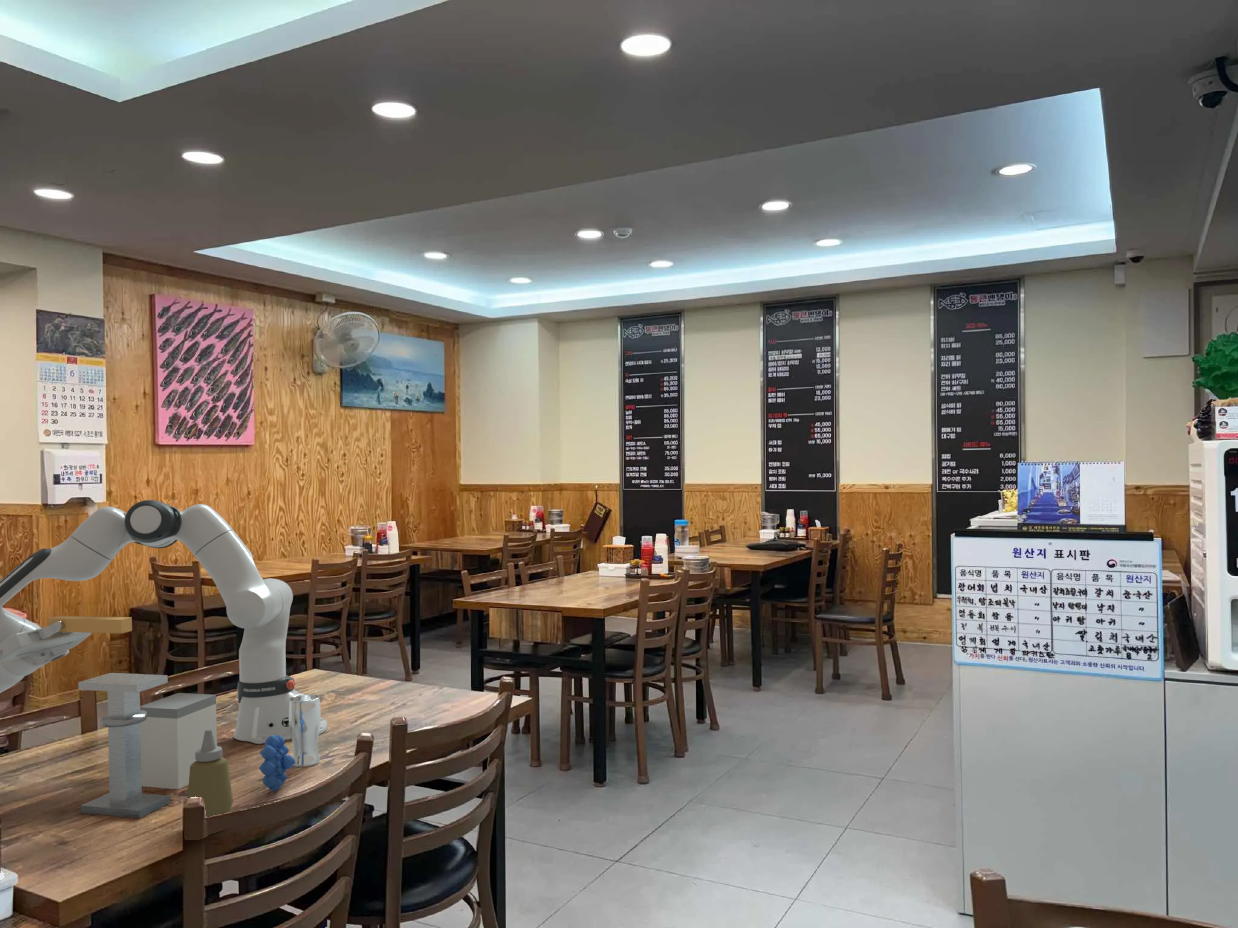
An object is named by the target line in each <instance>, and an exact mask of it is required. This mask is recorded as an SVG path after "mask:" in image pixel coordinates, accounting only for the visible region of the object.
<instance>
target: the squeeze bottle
mask: <svg viewBox="0 0 1238 928" xmlns="http://www.w3.org/2000/svg"><path fill="white" fill-rule="evenodd" d="M195 760H196V761H195V762H193V763H192V764H191V766H190V774H189V785H187V786H188V788H187V798H190V797H195V796H196V797H202V798H203V799H204V803H205V810H206V816H207V817H210V816H213V815H218V814H224V813H227V812H230V813H231V809H232V807H233V803H234V800H233V789H232V783H231V777H230V776H231V775H230V768H229V762H228V759H226V757H224V756H223V748H222V747H221V746H218V745H217V746H216V744H215V740H214V737H213V733H212V730H205V733H204V738H203V743H202V748H200V749H198V750H196V752H195ZM187 798H186V799H187Z"/></svg>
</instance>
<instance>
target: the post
mask: <svg viewBox="0 0 1238 928" xmlns="http://www.w3.org/2000/svg"><path fill="white" fill-rule="evenodd" d="M168 678H169V677H168V675H166V674H148V673H147V674H146V673H144V674H143V673H124V672H121V673H120V672H119V673H118V672H108V673H106V674H102V675H99V676H94V677H92V678H88V679H84V680H82V681H78V682H77V683H78V684H77V685H78V691H79V690H81V691H94V692H95V691H96V692H98V691H99V692H100V691H101V692H107V714H106V715H105V714H104V716H102V717H101V718H100V721H101V722H100V723H101V724H100V725H101V726H102V727H104V728H108V729H107V731H108V732H107V733H108V734H107V735H108V736H107V737H108V738H107V739H108V741H107V742H108V781H109V782H108V785H109V787H108V788H109V790H108V791H109V792H108V793H107V792H106V793H105V794H104V795H101V796H99V797H96V798H95V799H91V800H90V801H88V802H85V803H83V804H81V805H80V813H81V814H87V815H97V814H99V816H108V815H113V816H112V817H119V818H129V817H133V818H132V819H141V817H142V818H143V817H146V816H147V814H148V815H149V814H151V812H152V813H153V811H154V812H156V811H157V810H159V809H161V808H163V807H165V806H167V805H169V804H171V795H166V794H156V793H155V794H152V793H143V788H142V787H143V786H142V777H141V728H140V723H141V722H143V721H145V720H146V719H147V712H146V711H143V710H140V706H141V694H140V693H141V692H144V691H147V690H149V689H150V690H151V689H152V688H156V687H158V686H162V685H165V684H168V680H169V679H168ZM166 804H167V805H166ZM100 814H102V815H100ZM145 815H146V816H145Z"/></svg>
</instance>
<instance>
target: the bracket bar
mask: <svg viewBox="0 0 1238 928" xmlns="http://www.w3.org/2000/svg"><path fill="white" fill-rule="evenodd" d="M58 621H63V622H64V624H65V628H64V629H62V630H61V631H57V632H84V633H91V634H96V633H97V634H124V633H129V632H132V631H133V622H132V621H133V619H132V616H130V617H129V616H127V617H126V616H87V615H86V616H83V615H82V616H76V615H56V616H52V617H47V618H46V627H48V626H50V625H52V624H54V623H55V622H58Z"/></svg>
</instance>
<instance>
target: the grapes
mask: <svg viewBox="0 0 1238 928" xmlns="http://www.w3.org/2000/svg"><path fill="white" fill-rule="evenodd" d="M264 745H265V746H264V747H263V748H261V751H260V752H259V753H260V756H261V758H263V759H264V761H263V762H262V763H261V764H260V765H259V767H258V769H259V770H260V772H261V773H262V775H264V776H263V777H262V779H261V782H262V784H263V785H264V786H265V787H266V788H268V789H269V790H270V791H271V792H277V791H278V790H280V788H281V787H282V786H283V784H284V783H285V782H286V780H287V779H288V776H287V775H286V771H287V770H290V769H291V768H293V767H294V766H293V765H294V764H295V760H294V759H293V755H290V754H288V753H289V752H290V750H289V748H288V746H287V745H286V740H284V739H283V737H282V736H280V735H275V736H274V735H272V736H270V737H268V738H267V740H266V741H265V743H264Z"/></svg>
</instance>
